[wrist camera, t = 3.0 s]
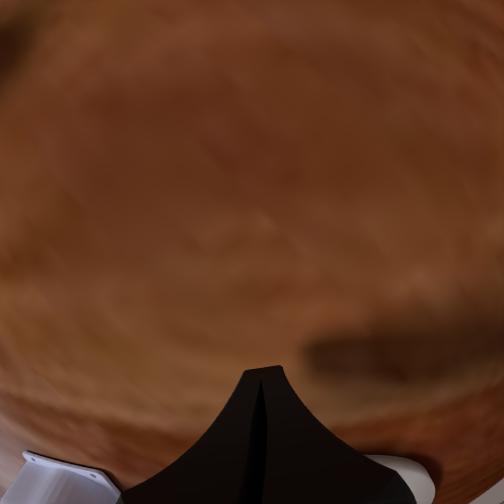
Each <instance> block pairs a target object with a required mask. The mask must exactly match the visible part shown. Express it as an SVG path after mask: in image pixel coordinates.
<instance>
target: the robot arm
mask: <svg viewBox="0 0 504 504" xmlns="http://www.w3.org/2000/svg"><path fill="white" fill-rule="evenodd" d="M22 454H23V456H24V457H25V459H26V460H27V462H26V463H25V465H24V466H23V468H22V469H21V470H20V472H19V473H18V475H17V476H16V478H15V479H14V481H13V482H12V484H11V485H10V487H9V488H8V490H7V491H6V493H5V494H4V496H3V497H2V499H1V502H0V504H417V501H416V499H415V496H414V494H413V492H412V491H411V489H410V488H409V486H408V485H407V483H406V482H405V481H404V479H403V478H402V477H401V476H400V474H399V473H398V472H397V471H396V470H393V469H391V468H389V467H386V466H384V465H382V464H380V463H378V462H376V461H374V460H372V459H370V458H368V457H366V456H365V455H363V454H361V453H359V452H358V451H356V450H355V449H353V448H352V447H350V446H349V445H347V444H346V443H345V442H343V441H342V440H340V439H339V438H338V437H336V436H335V435H334V434H333V433H332V432H330V431H329V430H328V429H327V428H326V427H325V426H324V425H323V424H321V423H320V422H319V421H318V420H317V419H316V418H315V416H314V415H313V414H312V413H311V412H310V411H309V410H308V409H307V407H306V406H305V405H304V404H303V403H302V401H301V400H300V399H299V397H298V396H297V394H296V393H295V391H294V390H293V388H292V387H291V385H290V383H289V382H288V380H287V378H286V376H285V373H284V370H283V367H282V366H280V365H276V366H270V367H264V368H257V369H250V370H245V371H244V372H243V374H242V376H241V378H240V380H239V382H238V384H237V386H236V388H235V390H234V392H233V393H232V395H231V397H230V398H229V400H228V402H227V403H226V405H225V406H224V408H223V409H222V411H221V412H220V414H219V415H218V416H217V418H216V419H215V421H214V422H213V423H212V425H211V426H210V427H209V428H208V430H207V431H206V432H205V433H204V434H203V435H202V436H201V437H200V439H199V440H198V441H197V442H196V443H195V444H194V445H193V446H192V447H191V448H190V449H188V450H187V451H186V452H185V453H184V454H183V455H182V456H181V457H179V458H178V459H177V460H176V461H175V462H173V463H172V464H171V465H169V466H168V467H166V468H165V469H164V470H162V471H161V472H159V473H158V474H156V475H154V476H153V477H151V478H149V479H148V480H146V481H144V482H142V483H140V484H138V485H136V486H134V487H132V488H130V489H128V490H126V491H124V492H122V493H121V492H120V491H119V490H118V489H117V488H116V486H115V485H114V484H113V483H112V482H111V481H110V479H109V478H108V477H107V476H106V475H105V474H104V473H103V472H102V471H100V470H95V469H90V468H86V467H81V466H76V465H72V464H68V463H64V462H60V461H56V460H53V459H49V458H46V457H42V456H39V455H36V454H33V453H30V452H27V451H24V452H23V453H22ZM500 504H504V501H503V502H502V503H500Z"/></svg>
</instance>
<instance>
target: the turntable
mask: <svg viewBox="0 0 504 504" xmlns="http://www.w3.org/2000/svg"><path fill="white" fill-rule="evenodd" d="M365 456H366V457H368V458H370V459H372V460H374V461H376V462H378V463H380V464H382V465H384V466H386V467H389V468H391V469H393V470H396V471H397V472H398V473H399V474H400V476H401V477H402V478H403V479H404V481H405V482H406V483H407V485H408V486H409V488H410V489H411V491H412V492H413V494H414V496H415V499H416V501H417V504H431V503H432V501H433V499H434V496H435V487H434V484H433V482H432V480H431V478H430V476H429V474H428V472H427V470H426V469H425V468H424V466H422V465H421V464H419V463H418V462H416V461H413V460H410V459H408V458H403V457H397V456H388V455H365Z"/></svg>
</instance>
